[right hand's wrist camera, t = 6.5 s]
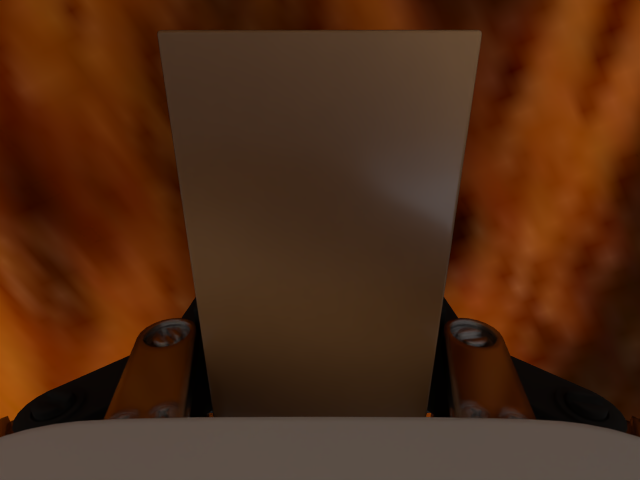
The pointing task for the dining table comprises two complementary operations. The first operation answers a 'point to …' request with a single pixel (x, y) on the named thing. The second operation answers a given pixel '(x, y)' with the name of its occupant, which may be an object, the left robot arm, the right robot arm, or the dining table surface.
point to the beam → (319, 209)
